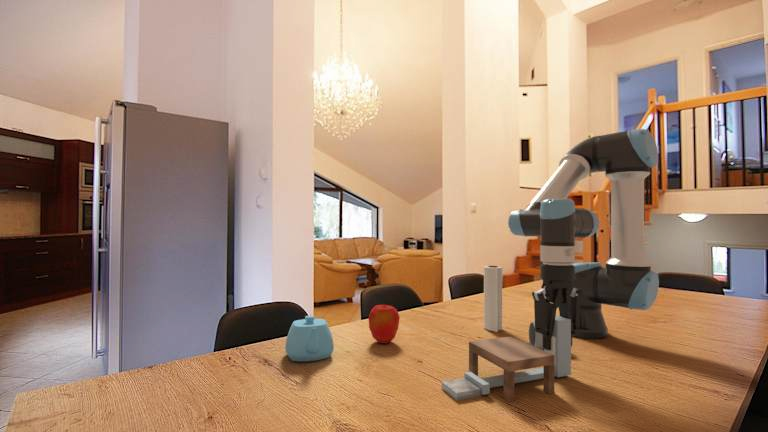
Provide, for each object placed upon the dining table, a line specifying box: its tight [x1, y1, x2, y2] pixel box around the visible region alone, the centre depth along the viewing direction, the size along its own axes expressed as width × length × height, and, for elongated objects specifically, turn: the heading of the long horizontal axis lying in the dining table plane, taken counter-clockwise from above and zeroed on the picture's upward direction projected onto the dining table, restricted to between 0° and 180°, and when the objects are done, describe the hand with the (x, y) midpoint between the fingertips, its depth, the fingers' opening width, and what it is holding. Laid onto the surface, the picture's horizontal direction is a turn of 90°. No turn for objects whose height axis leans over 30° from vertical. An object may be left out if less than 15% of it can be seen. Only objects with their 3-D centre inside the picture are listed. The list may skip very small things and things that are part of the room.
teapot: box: [285, 314, 334, 362], centre depth 101 cm, size 13×11×18 cm
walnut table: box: [468, 336, 555, 403], centre depth 85 cm, size 12×14×8 cm
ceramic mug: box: [528, 320, 544, 350], centre depth 110 cm, size 11×8×8 cm
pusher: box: [463, 314, 572, 396], centre depth 86 cm, size 26×7×13 cm, turn 111°
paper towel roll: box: [483, 265, 503, 333], centre depth 129 cm, size 7×6×21 cm
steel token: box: [441, 377, 482, 402], centre depth 80 cm, size 6×6×2 cm
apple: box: [368, 304, 401, 344], centre depth 114 cm, size 9×9×12 cm
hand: (557, 361), depth 90 cm, fingers closed on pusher, 4 cm apart
